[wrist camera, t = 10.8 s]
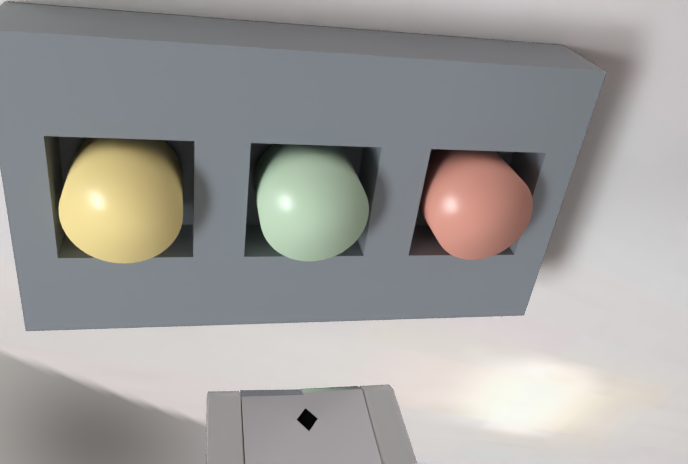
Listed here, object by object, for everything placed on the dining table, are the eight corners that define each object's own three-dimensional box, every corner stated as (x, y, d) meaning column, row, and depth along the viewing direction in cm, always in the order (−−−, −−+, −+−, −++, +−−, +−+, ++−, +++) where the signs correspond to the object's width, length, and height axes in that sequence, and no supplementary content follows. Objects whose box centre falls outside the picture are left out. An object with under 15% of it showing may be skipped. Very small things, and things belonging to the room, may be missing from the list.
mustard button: (183, 128, 25) (183, 162, 23) (182, 222, 27) (182, 263, 25) (66, 124, 24) (52, 159, 22) (75, 221, 26) (64, 264, 24)
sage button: (358, 135, 27) (376, 167, 24) (345, 222, 29) (360, 261, 27) (255, 131, 26) (263, 164, 24) (250, 222, 28) (256, 262, 26)
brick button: (513, 140, 29) (545, 171, 26) (490, 223, 31) (517, 259, 28) (423, 137, 28) (446, 169, 25) (405, 223, 30) (425, 260, 27)
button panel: (563, 45, 28) (606, 71, 25) (495, 273, 34) (524, 315, 32) (4, 1, 23) (-22, 28, 20) (41, 279, 29) (25, 330, 26)
